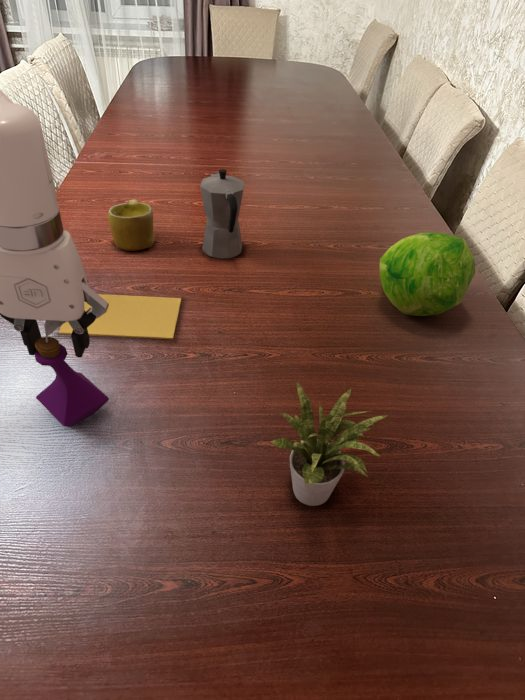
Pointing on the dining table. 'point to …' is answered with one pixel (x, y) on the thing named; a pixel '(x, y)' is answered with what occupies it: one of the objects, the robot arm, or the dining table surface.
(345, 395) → the house plant
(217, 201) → the coffeepot
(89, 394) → the purple potion bottle
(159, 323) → the yellow rectangular board
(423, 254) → the lettuce
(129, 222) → the mug
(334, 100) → the dining table surface
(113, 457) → the dining table surface
